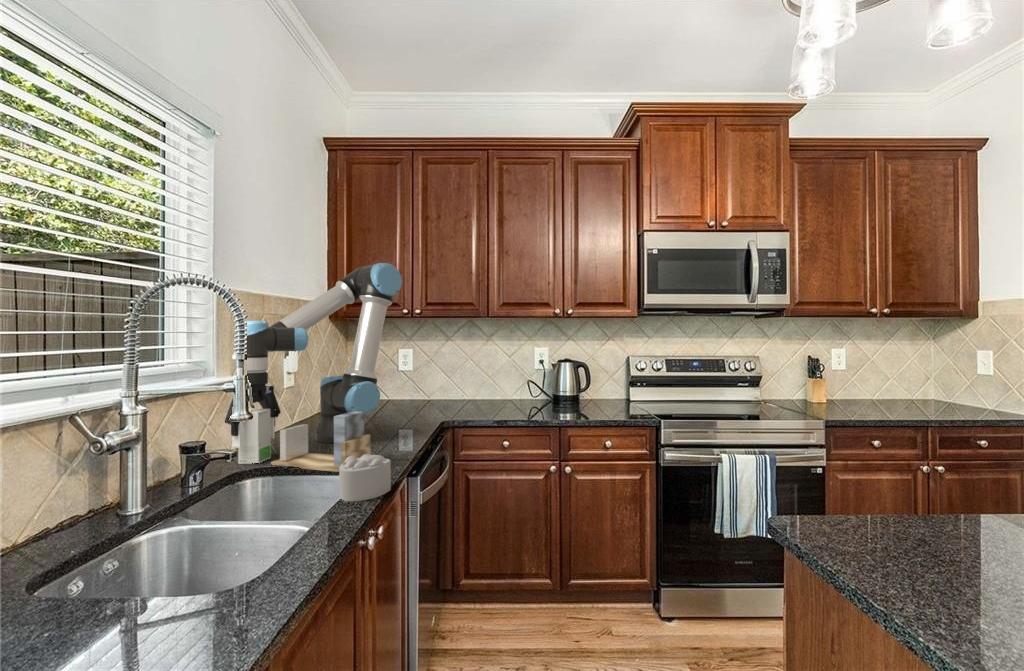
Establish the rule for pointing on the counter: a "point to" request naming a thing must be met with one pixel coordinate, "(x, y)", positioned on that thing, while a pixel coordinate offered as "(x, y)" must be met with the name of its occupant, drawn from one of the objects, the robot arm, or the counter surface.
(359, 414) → the book rack
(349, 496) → the lumpy-topped squat cylinder
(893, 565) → the counter surface
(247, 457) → the skincare box
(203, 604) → the counter surface
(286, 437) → the grey rectangular slab
